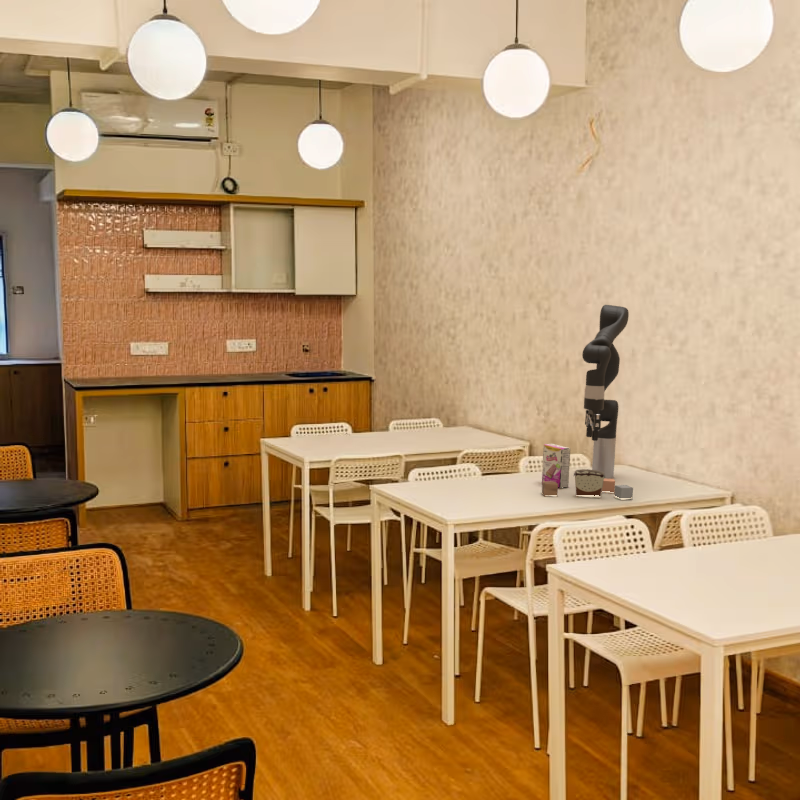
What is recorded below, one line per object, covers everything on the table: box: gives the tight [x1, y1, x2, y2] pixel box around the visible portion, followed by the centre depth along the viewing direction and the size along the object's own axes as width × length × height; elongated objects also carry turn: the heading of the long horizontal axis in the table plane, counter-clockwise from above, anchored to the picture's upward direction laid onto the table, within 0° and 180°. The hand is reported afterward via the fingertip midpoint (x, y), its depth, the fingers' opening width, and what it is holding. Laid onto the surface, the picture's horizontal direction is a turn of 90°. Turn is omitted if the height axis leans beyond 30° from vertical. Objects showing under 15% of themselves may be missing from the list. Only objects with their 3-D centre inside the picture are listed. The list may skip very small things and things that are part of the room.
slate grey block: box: [613, 484, 634, 498], centre depth 389 cm, size 5×5×5 cm
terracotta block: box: [602, 478, 616, 493], centre depth 401 cm, size 5×5×5 cm
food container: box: [572, 468, 606, 497], centre depth 392 cm, size 12×6×10 cm, turn 84°
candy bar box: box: [541, 443, 571, 489], centre depth 409 cm, size 11×5×16 cm, turn 34°
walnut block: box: [541, 481, 559, 496], centre depth 392 cm, size 5×5×5 cm
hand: (591, 438), depth 390 cm, fingers open, 8 cm apart
